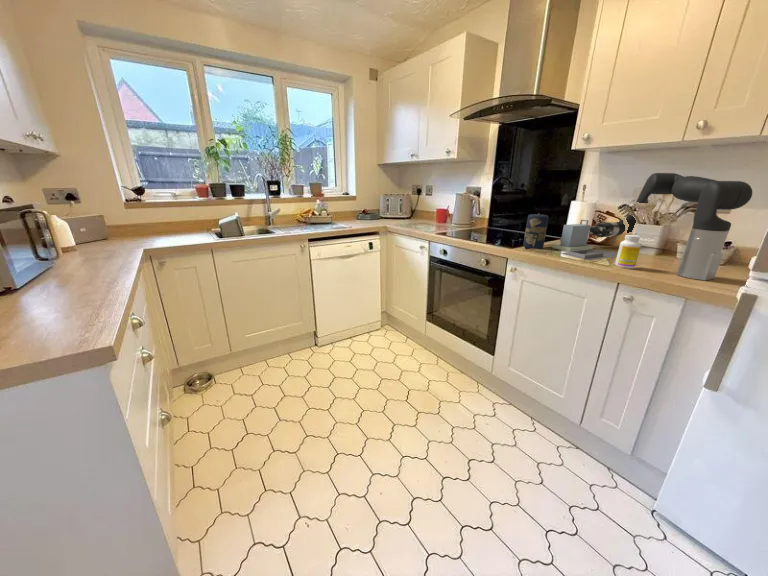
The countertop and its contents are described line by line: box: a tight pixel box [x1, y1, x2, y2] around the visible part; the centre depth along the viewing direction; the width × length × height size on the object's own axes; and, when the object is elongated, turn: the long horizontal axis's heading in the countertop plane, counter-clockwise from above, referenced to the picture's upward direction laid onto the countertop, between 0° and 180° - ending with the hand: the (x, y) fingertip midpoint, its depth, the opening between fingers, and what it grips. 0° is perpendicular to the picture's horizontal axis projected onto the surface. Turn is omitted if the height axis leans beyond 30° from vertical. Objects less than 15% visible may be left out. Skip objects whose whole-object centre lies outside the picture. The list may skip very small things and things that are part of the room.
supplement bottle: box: [614, 234, 642, 270], centre depth 124 cm, size 7×7×13 cm
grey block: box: [559, 219, 591, 248], centre depth 154 cm, size 5×12×14 cm, turn 112°
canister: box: [522, 212, 550, 250], centre depth 157 cm, size 10×10×18 cm
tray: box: [552, 243, 594, 252], centre depth 156 cm, size 10×17×2 cm, turn 112°
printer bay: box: [560, 248, 618, 261], centre depth 144 cm, size 14×27×2 cm, turn 112°
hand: (585, 231), depth 156 cm, fingers open, 8 cm apart
